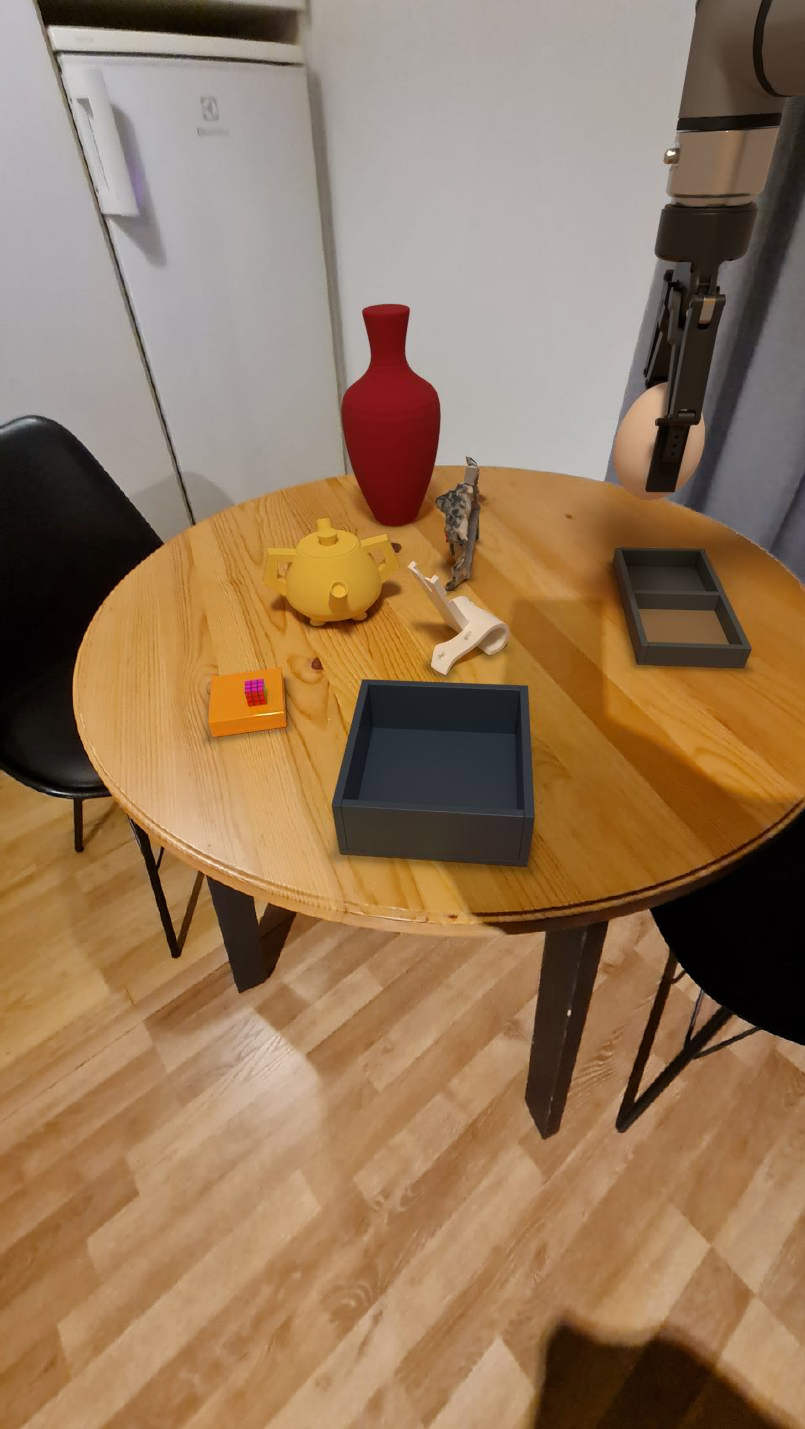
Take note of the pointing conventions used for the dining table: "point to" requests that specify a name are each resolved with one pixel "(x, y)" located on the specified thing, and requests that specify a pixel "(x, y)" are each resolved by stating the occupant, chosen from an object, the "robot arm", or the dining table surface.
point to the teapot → (331, 573)
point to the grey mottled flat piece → (461, 522)
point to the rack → (677, 609)
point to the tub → (437, 773)
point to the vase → (391, 422)
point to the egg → (650, 444)
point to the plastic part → (461, 624)
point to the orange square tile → (247, 702)
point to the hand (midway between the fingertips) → (652, 472)
